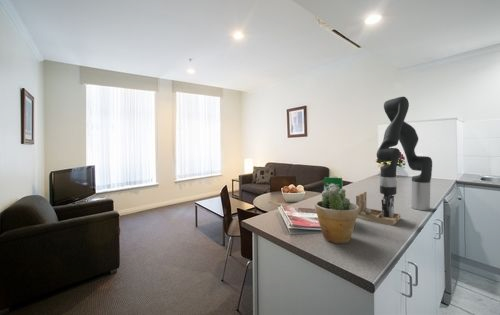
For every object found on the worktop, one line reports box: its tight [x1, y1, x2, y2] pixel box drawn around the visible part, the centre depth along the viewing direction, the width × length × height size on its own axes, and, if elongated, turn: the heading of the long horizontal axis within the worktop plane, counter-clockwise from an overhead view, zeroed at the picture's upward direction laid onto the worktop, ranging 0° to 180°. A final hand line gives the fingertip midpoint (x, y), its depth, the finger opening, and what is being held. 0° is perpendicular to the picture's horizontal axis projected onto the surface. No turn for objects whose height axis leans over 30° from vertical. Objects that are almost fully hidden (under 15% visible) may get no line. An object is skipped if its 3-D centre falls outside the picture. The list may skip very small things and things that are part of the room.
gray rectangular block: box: [381, 204, 395, 219], centre depth 116 cm, size 4×4×6 cm
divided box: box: [355, 191, 401, 227], centre depth 119 cm, size 14×18×13 cm
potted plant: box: [314, 184, 359, 244], centre depth 97 cm, size 18×19×25 cm
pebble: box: [365, 207, 371, 214], centre depth 127 cm, size 3×3×3 cm
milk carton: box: [323, 175, 343, 191], centre depth 119 cm, size 9×9×25 cm
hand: (387, 215), depth 116 cm, fingers closed on gray rectangular block, 4 cm apart
